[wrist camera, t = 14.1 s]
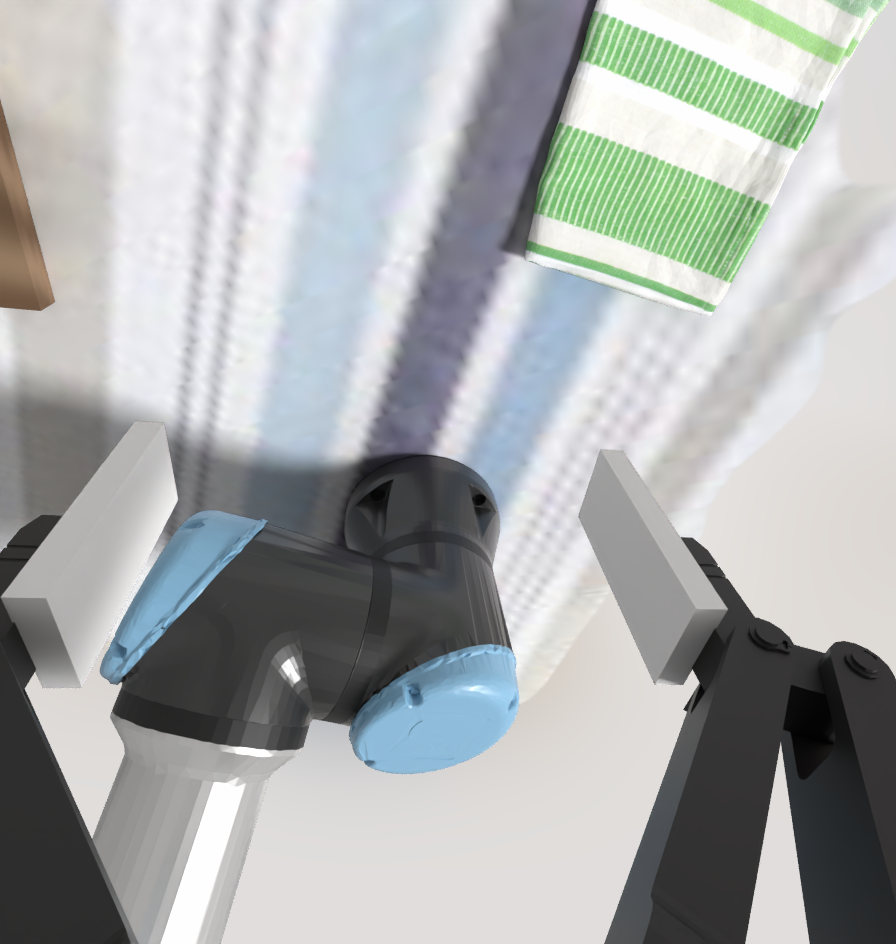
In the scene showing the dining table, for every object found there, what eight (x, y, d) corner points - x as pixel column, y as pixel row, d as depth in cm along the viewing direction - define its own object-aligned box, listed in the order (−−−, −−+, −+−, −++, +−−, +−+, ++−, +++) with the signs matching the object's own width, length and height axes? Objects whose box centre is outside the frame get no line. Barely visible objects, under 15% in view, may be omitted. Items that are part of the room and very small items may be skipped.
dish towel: (905, -50, 34) (941, -60, 32) (705, 312, 46) (721, 323, 44) (654, -184, 30) (676, -206, 28) (507, 253, 42) (514, 262, 40)
